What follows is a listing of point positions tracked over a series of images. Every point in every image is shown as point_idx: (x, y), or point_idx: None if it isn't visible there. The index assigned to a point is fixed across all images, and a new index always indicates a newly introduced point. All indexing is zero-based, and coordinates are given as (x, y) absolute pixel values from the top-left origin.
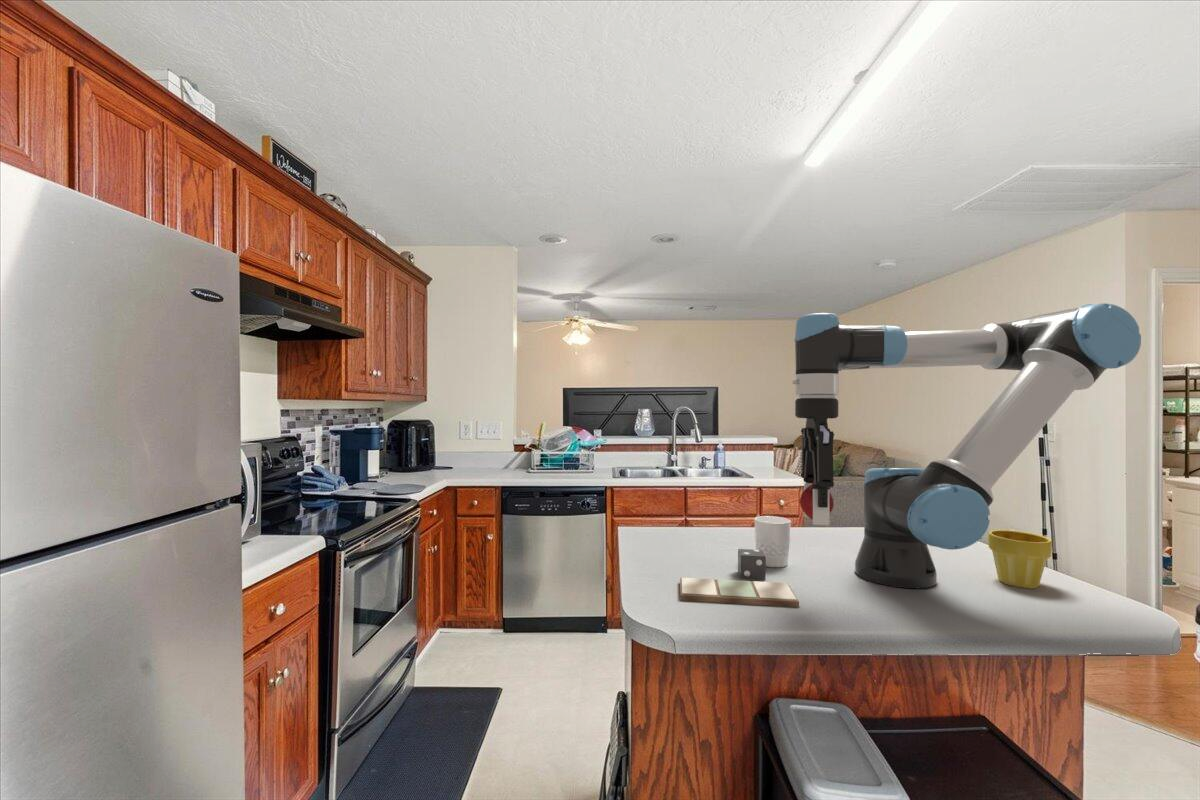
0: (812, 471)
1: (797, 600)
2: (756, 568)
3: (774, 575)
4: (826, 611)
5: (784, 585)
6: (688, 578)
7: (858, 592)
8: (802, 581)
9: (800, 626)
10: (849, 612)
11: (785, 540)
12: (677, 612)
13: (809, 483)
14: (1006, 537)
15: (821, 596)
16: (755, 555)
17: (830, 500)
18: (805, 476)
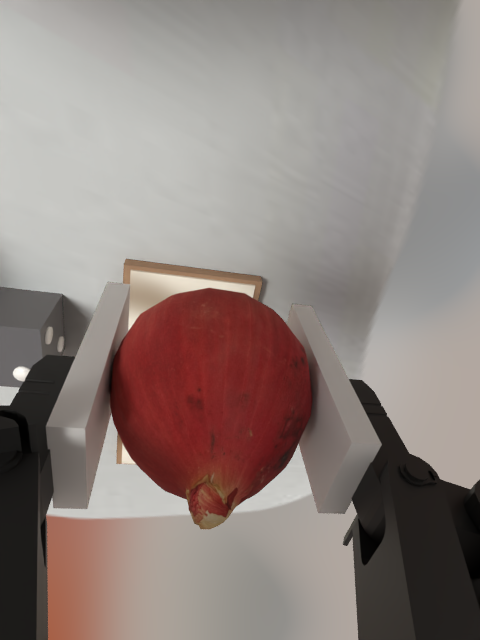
0: (43, 589)
1: (255, 283)
2: (53, 331)
3: (7, 257)
4: (289, 223)
5: (153, 282)
6: (125, 454)
7: (137, 37)
8: (50, 192)
9: (357, 307)
10: (301, 166)
11: None
12: None
13: (77, 486)
14: None
15: (184, 189)
16: (37, 354)
17: (298, 356)
18: (46, 562)
